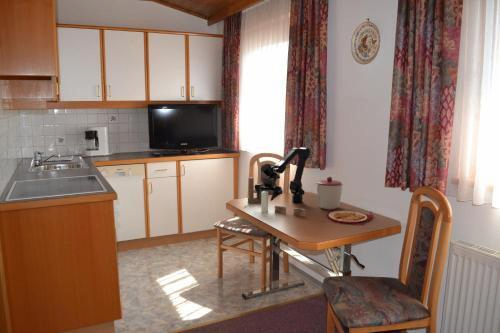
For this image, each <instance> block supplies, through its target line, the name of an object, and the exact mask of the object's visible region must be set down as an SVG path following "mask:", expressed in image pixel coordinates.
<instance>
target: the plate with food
mask: <svg viewBox="0 0 500 333" xmlns="http://www.w3.org/2000/svg"><path fill="white" fill-rule="evenodd" d="M325 216H326V219H328V220H327V222H329V223H334V224H339V225H345V224H347V225H351V226H354V225H356V226H365V223H369V222H371V220H372V219H373V216H374V213H373V211H370V212H369V214H367V213H364V212H359V211H354V210H335V211H334V210H333V209H330V211H329V212H328V213H327V214H326V215H325ZM321 222H324V223H326V221H325V219H321Z"/></svg>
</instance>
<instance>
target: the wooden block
mask: <svg viewBox="0 0 500 333" xmlns="http://www.w3.org/2000/svg"><path fill="white" fill-rule="evenodd" d="M247 180H248V197H247V203H248V204H256V203H261V196H260V198H259V200H258V192H257V191H256V189H255V188H254V186H255V184H254V181H255V180H254V177H248V178H247ZM258 184H260V185H261V186H262V187H264V183H262V181H260V182H259V183H258ZM263 191H264V190H263ZM263 191H262V192H263ZM254 194H256V196H254Z"/></svg>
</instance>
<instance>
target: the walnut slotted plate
mask: <svg viewBox="0 0 500 333" xmlns="http://www.w3.org/2000/svg"><path fill="white" fill-rule="evenodd" d="M274 213H275V214H281V215H286V214H287V206H283V205H274ZM293 216H295V217H303V218H304V217H306V208H300V207H299V208H298V207H294V208H293Z"/></svg>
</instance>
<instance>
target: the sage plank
mask: <svg viewBox="0 0 500 333" xmlns="http://www.w3.org/2000/svg"><path fill="white" fill-rule="evenodd" d="M260 203H261V204H260V205H261V206H260V207H261V208H260V209H261V210H260V212H261V213H267V212H269V191H268V190H263V192H261V202H260Z"/></svg>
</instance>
